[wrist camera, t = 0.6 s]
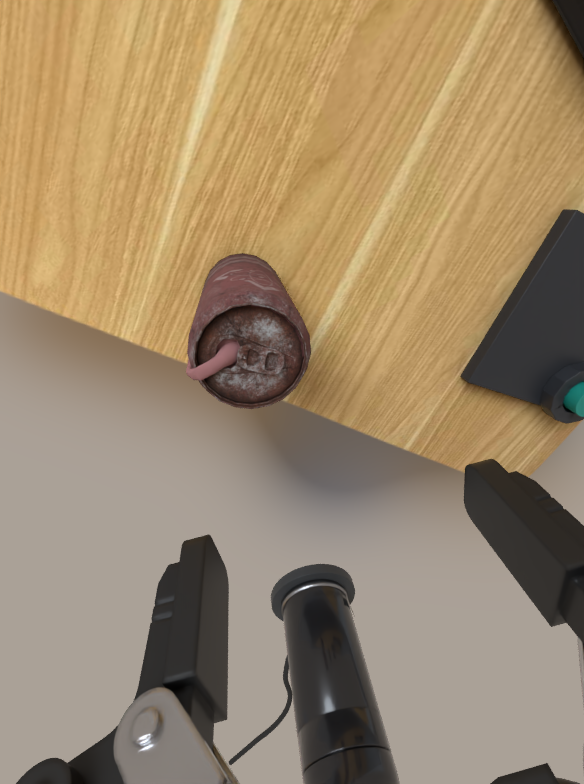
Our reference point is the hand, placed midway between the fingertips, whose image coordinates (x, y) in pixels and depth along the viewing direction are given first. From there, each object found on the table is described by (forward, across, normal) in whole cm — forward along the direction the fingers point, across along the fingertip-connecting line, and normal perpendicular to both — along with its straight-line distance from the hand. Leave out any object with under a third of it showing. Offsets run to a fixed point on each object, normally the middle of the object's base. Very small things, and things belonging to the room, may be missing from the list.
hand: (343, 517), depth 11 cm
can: (+22, -2, +2) cm, 23 cm away
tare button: (+20, +28, -15) cm, 37 cm away
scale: (+22, +27, -8) cm, 36 cm away
